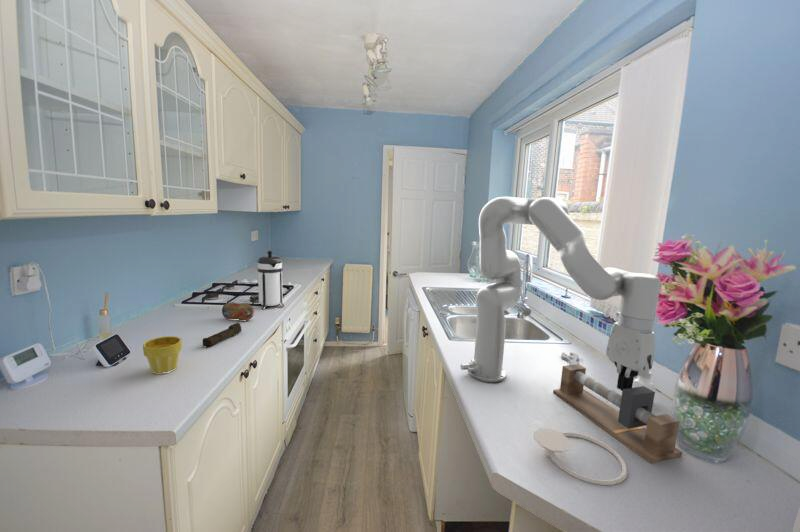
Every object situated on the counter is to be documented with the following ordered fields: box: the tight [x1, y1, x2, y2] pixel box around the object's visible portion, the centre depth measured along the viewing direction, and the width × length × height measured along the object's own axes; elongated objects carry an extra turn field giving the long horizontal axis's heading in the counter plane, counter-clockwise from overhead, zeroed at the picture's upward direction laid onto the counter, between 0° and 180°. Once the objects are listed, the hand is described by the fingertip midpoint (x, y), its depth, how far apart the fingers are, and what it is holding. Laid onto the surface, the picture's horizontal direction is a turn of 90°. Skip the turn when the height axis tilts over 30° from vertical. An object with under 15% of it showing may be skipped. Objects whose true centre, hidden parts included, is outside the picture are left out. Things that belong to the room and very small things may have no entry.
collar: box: [618, 386, 656, 429], centre depth 91 cm, size 7×3×9 cm, turn 107°
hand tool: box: [202, 322, 242, 348], centre depth 144 cm, size 19×4×5 cm, turn 161°
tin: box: [221, 302, 255, 322], centre depth 168 cm, size 15×3×8 cm, turn 81°
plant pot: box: [142, 335, 183, 373], centre depth 116 cm, size 10×10×10 cm
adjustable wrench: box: [560, 351, 580, 365], centre depth 131 cm, size 25×6×2 cm, turn 161°
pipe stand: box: [552, 363, 683, 464], centre depth 98 cm, size 10×32×9 cm, turn 17°
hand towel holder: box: [533, 428, 629, 486], centre depth 83 cm, size 17×4×21 cm
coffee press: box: [256, 250, 285, 308], centre depth 191 cm, size 17×16×30 cm
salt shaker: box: [632, 370, 654, 391], centre depth 109 cm, size 4×4×10 cm
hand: (623, 389), depth 94 cm, fingers closed
